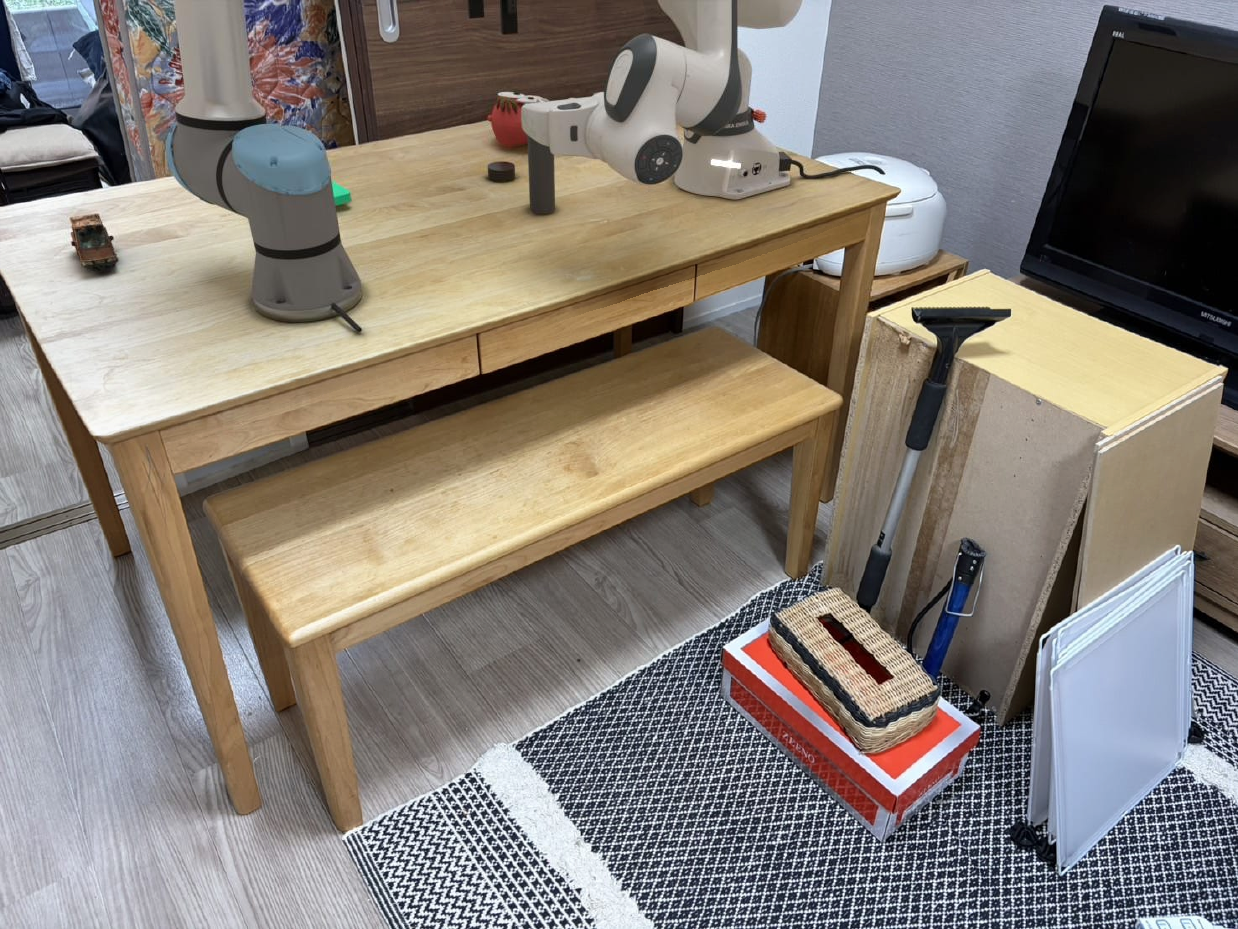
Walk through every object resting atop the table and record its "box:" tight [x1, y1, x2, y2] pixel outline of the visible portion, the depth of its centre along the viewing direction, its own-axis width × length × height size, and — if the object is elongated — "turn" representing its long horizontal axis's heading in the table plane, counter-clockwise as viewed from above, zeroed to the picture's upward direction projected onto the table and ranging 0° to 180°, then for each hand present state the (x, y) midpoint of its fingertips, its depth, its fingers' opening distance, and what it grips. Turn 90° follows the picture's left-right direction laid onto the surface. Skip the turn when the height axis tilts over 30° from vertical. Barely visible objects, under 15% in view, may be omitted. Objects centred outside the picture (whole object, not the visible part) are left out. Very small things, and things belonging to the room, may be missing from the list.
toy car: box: [69, 213, 120, 274], centre depth 141 cm, size 6×12×7 cm, turn 39°
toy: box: [487, 91, 576, 148], centre depth 195 cm, size 18×10×30 cm
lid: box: [487, 160, 516, 183], centre depth 176 cm, size 5×5×2 cm
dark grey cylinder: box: [527, 135, 556, 216], centre depth 159 cm, size 4×4×16 cm
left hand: (492, 25), depth 160 cm, fingers open, 13 cm apart
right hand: (569, 100), depth 142 cm, fingers open, 8 cm apart
